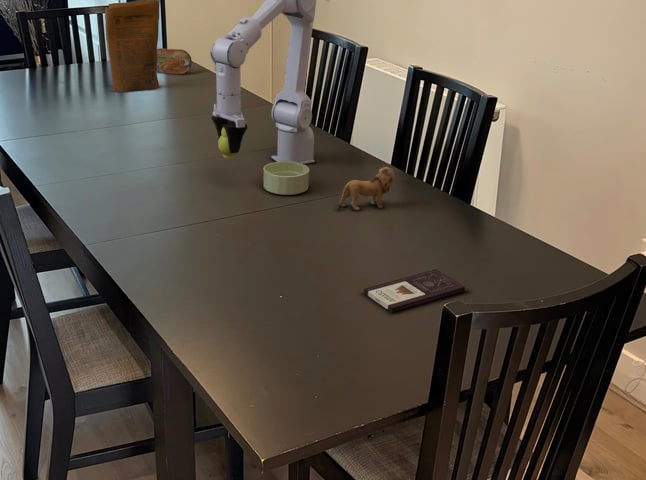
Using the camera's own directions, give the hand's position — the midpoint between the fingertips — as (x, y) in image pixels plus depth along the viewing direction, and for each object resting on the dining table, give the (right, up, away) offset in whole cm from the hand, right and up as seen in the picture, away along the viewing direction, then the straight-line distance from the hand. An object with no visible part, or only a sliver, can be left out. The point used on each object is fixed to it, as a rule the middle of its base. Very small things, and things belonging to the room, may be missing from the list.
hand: (229, 149), depth 205 cm
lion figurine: (+33, -15, -5) cm, 37 cm away
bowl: (+14, -9, +3) cm, 17 cm away
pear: (0, -2, +1) cm, 2 cm away
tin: (-30, +55, +98) cm, 116 cm away
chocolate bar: (+40, -40, -42) cm, 71 cm away
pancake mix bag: (-38, +42, +77) cm, 95 cm away
